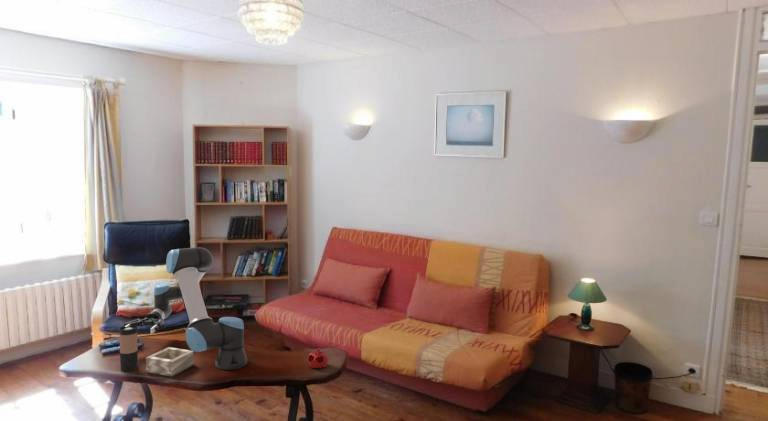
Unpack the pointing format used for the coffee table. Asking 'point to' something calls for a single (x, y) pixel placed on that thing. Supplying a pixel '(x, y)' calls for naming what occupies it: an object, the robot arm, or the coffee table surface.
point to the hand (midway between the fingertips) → (137, 331)
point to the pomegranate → (317, 359)
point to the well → (169, 361)
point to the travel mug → (128, 348)
